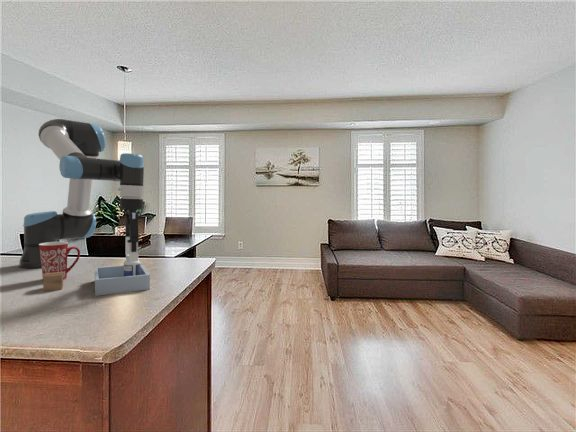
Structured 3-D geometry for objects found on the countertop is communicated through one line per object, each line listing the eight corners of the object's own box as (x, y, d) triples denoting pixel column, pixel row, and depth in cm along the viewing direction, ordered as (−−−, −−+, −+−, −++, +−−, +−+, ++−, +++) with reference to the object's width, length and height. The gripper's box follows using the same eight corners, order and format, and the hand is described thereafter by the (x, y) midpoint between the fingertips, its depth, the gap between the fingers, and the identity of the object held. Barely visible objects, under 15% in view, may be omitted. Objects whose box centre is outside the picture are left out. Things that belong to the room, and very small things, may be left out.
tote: (94, 281, 122) (94, 267, 122) (141, 276, 130) (141, 264, 130) (95, 295, 105) (95, 279, 105) (149, 289, 113) (149, 274, 113)
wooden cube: (45, 287, 113) (45, 273, 112) (63, 286, 115) (62, 271, 115) (43, 291, 108) (43, 276, 108) (62, 289, 111) (61, 274, 111)
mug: (37, 283, 117) (36, 245, 117) (41, 277, 125) (40, 242, 124) (79, 279, 124) (79, 243, 123) (80, 274, 131) (80, 240, 131)
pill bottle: (136, 279, 123) (137, 253, 123) (142, 282, 119) (142, 255, 119) (121, 281, 120) (121, 254, 119) (126, 284, 116) (126, 256, 115)
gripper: (117, 196, 127) (117, 251, 128) (122, 199, 105) (122, 265, 107) (138, 197, 130) (138, 250, 132) (148, 199, 109) (147, 263, 110)
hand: (131, 257), depth 119 cm, fingers open, 13 cm apart
